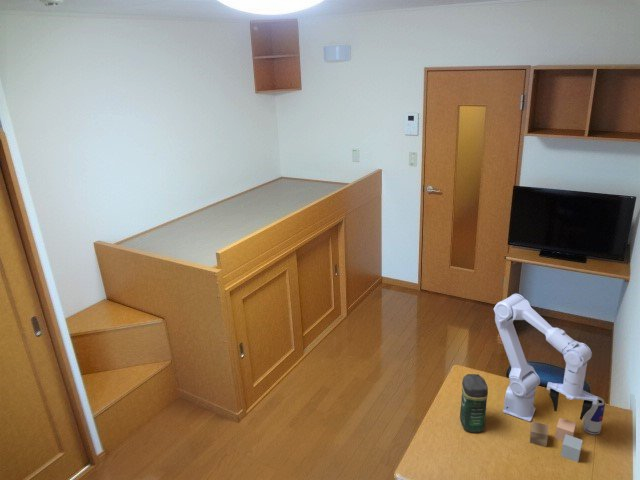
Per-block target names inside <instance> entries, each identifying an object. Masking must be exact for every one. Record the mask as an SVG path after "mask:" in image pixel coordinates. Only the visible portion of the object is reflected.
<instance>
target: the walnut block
mask: <svg viewBox="0 0 640 480" xmlns="http://www.w3.org/2000/svg"><path fill="white" fill-rule="evenodd" d="M530 427H531V428H530V435H529V444H533V445H537V446H539V447H544V448H547V445H548V438H549V425H548V424H546V423H540V422H537V421H532V420H531V426H530Z"/></svg>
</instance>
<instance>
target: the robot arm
mask: <svg viewBox="0 0 640 480" xmlns="http://www.w3.org/2000/svg"><path fill="white" fill-rule="evenodd" d="M493 312H494V323H495V325H496V328H497V330H498V333H499V337H500V339H501V341H502V342H501V343H502V345H503V348H504V351H505V353H506V357H507V358H508V362H509V365H510V367H511V370H510V372H509V374H508V379H509V385H508V386H507V388H506V391H505V396H504V401H503V402H504V403H503V404H504V405H503V410H502V412H503V413H504V414H507V415H509V416H512V417H516V418H519V419H521V420H523V421H527V422H532V420H533V418H534V415H535V411H536V410H537V409H536V407H535V406H534V404H535V397H536V388H537V387H538V386H540V384H541V378H540V376H539V375H538V374H537V372H536V370H535V368H534V366H532V365H531V364H528V362H527V359H526V356H525V353H524V351H523V348H522V345H521V342H520V340H519V337H518V334H517V331H516V328H515V325H514V321H525V322H527V324H530V325H531V326H532V327H534V328H535V329H536V330H538V332H539V333H540V332H541V333H542V334H543V335H544V336H545V341H546V342H547V343H549V345H551V346H552V347H553V348H554V349H556V350H557V351H558V352H559V353H560V354H562V356H563V360H564V361H565V369H564V373H563V374H564V376H563V382H562V383H556V382H551V381H548V382H547V384H546V390H547V391H549V398H550V399H551V401H552V405H553V411H554V412H557V410H558V406H559V396H560V395H561V394H562V396H563V395H564V396H565V398H566V399H567V400H571V401H573V400H583V401H582V408H581V413H580V415H579V416H580V417H579V420H582V421H583V420H584V415H585V413H586V412H587V411H588V410H590V409H591V407H592V404H595V405H596V404H597V400H598V397H599V396H598V397H597V395H594V394H592V393H590V392H588V391H586V390H584V386H585V379H586V372H587V366H588V362H589V361H590V359H591V358H592V356H593V353H592V350H591V348H590V347H589V346H588V345H587V344H586V343H583V342H579V341H577V340H575V339H573V338H572V336H571V337H570V336H569V335H568V334H567V333H566V331H565V330H564V329H562V328H559V327H553V326H552V325H551V324H550V323H548V321H547V320H546V319H545V318H544V317H542V316H541V315H540V314H539V313H538V312H537V311H536V310H535V309H534V308H532V307H531V304H530V301H529V300H527V298H526V299H525V297H524V296H523V295H521V294H519V293H513V294H511V295H510V296H509V297H507V298H505V299H502V300H501V301H498V302H497V303H496V304H495V306H494V308H493Z"/></svg>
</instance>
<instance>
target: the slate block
mask: <svg viewBox="0 0 640 480" xmlns="http://www.w3.org/2000/svg"><path fill="white" fill-rule="evenodd" d="M583 441H584V440H583V439H581V438H577V437H575V436H574V437H572V436H570V435H567V434H565V438H564V441H562V448H561V452H560V457H562V458H565V459H567V460H570V461H573V462H576V463H579V460H580V455H581V453H582V452H581V451H582V447H583Z"/></svg>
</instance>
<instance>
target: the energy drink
mask: <svg viewBox="0 0 640 480" xmlns="http://www.w3.org/2000/svg"><path fill="white" fill-rule="evenodd" d="M596 396H597V395H596ZM597 397H598V400H597V404H596V405H595V404H592V407H591V409H590V410H588V411H587V412H586V413H585V415H584V416H583V420H582V421H583V422H582V429H583V430H584V432H586V433H588V434H589V435H599V434H600V433H601V431H602V424H603V419H604V413H605V408H606V402H605V400H604V399H603V398H602V397H600V396H597Z"/></svg>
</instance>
